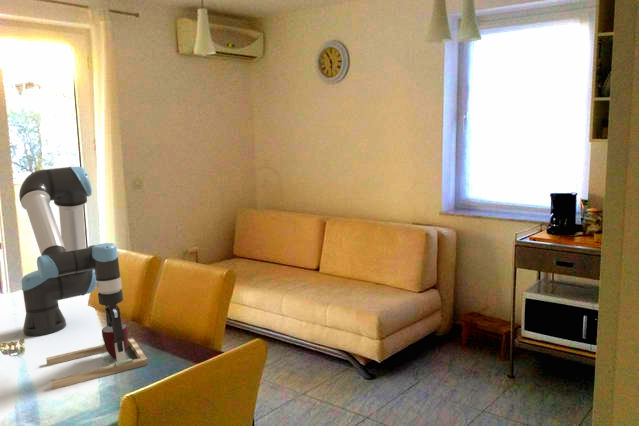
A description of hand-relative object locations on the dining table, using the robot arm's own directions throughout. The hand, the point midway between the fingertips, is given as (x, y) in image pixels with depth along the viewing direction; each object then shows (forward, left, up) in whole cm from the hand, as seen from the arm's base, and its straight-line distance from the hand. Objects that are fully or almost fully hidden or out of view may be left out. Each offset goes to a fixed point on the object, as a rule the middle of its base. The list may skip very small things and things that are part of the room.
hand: (118, 354), depth 187 cm
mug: (0, 0, -1) cm, 1 cm away
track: (0, -7, -1) cm, 7 cm away
